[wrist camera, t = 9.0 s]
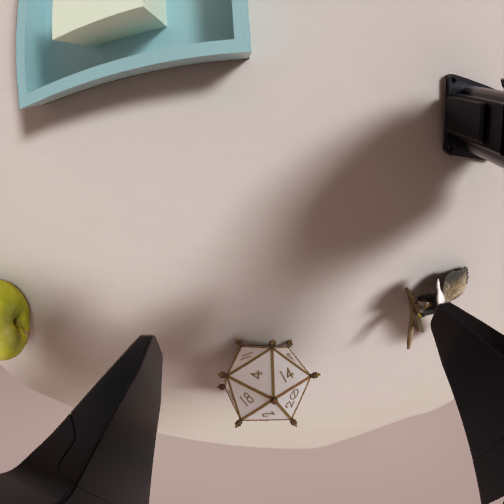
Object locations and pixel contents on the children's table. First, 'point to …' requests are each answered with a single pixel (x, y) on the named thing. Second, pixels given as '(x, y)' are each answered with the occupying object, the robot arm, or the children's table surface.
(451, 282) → the eagle figurine
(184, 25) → the tray
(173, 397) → the children's table surface
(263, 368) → the game die
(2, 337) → the apple
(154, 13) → the sage block
